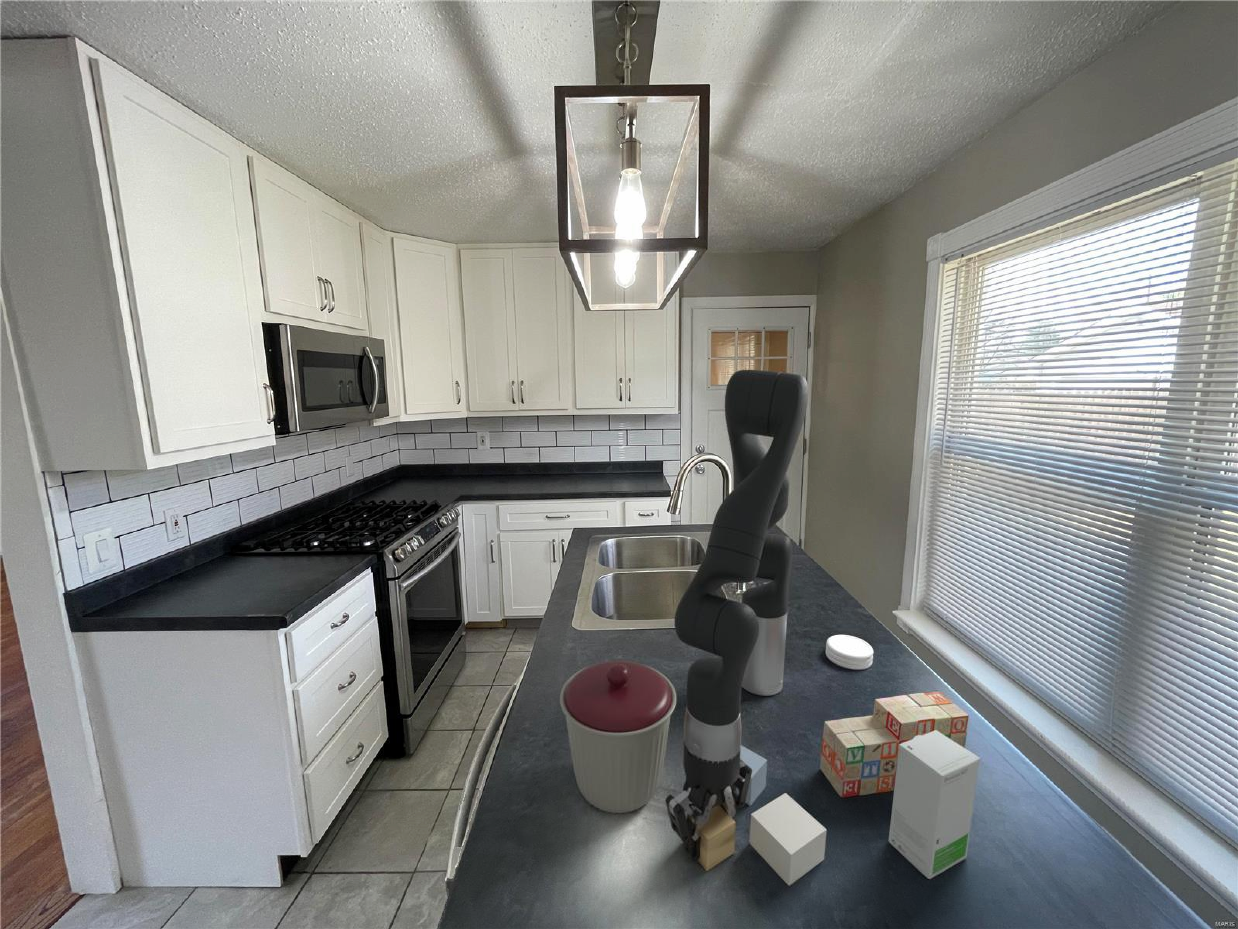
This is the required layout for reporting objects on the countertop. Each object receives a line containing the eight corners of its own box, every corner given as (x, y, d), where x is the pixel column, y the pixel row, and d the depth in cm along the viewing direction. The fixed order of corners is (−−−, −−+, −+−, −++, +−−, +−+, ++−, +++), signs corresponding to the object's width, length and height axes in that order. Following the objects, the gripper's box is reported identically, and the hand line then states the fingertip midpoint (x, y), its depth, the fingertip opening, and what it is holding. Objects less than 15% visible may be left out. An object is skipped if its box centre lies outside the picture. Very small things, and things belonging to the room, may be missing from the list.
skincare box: (928, 882, 65) (941, 779, 63) (883, 839, 71) (894, 743, 69) (969, 857, 69) (984, 758, 66) (923, 819, 75) (935, 726, 72)
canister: (647, 733, 92) (648, 628, 89) (694, 813, 76) (698, 688, 72) (551, 760, 86) (547, 648, 82) (579, 852, 70) (577, 718, 66)
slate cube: (722, 788, 80) (723, 761, 80) (738, 770, 84) (739, 744, 83) (750, 806, 77) (751, 778, 76) (765, 787, 81) (767, 760, 80)
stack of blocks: (841, 800, 78) (847, 730, 76) (819, 769, 84) (824, 703, 82) (960, 781, 82) (970, 714, 79) (931, 753, 88) (939, 690, 86)
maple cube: (683, 842, 71) (683, 812, 70) (709, 825, 74) (710, 796, 73) (706, 871, 67) (707, 840, 66) (734, 853, 69) (735, 822, 68)
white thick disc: (851, 644, 123) (852, 631, 122) (882, 667, 114) (883, 652, 113) (816, 650, 120) (817, 637, 120) (845, 674, 111) (846, 659, 110)
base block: (749, 844, 71) (751, 814, 70) (783, 822, 74) (785, 792, 74) (788, 887, 65) (791, 854, 64) (823, 860, 69) (826, 829, 68)
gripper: (731, 704, 74) (727, 803, 77) (652, 741, 66) (650, 848, 70) (771, 735, 68) (764, 841, 71) (688, 779, 60) (685, 896, 63)
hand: (708, 844), depth 70 cm, fingers closed on maple cube, 5 cm apart
